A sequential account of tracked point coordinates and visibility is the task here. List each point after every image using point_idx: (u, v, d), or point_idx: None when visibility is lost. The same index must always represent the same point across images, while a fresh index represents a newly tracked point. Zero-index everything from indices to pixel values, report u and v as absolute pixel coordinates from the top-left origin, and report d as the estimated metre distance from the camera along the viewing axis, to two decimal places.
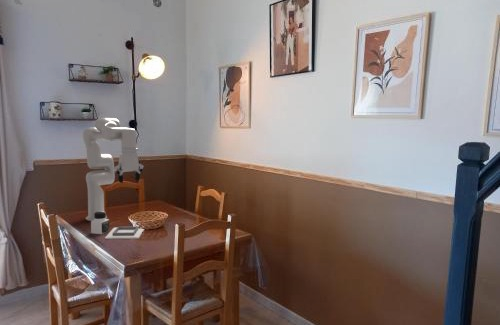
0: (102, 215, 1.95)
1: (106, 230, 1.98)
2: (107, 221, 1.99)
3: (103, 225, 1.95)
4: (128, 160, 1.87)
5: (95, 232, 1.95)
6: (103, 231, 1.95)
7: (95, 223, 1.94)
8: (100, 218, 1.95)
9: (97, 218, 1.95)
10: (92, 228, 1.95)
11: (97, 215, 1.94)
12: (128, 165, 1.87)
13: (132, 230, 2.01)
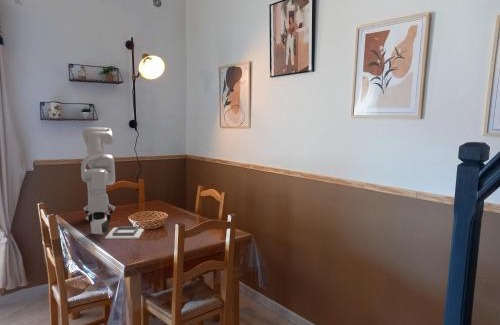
0: (101, 216, 1.94)
1: (106, 229, 1.98)
2: (106, 221, 1.98)
3: (103, 225, 1.94)
4: None
5: (95, 232, 1.95)
6: (103, 231, 1.95)
7: (95, 224, 1.93)
8: (99, 219, 1.93)
9: (96, 219, 1.93)
10: (92, 229, 1.95)
11: (96, 216, 1.93)
12: None
13: (132, 230, 2.01)
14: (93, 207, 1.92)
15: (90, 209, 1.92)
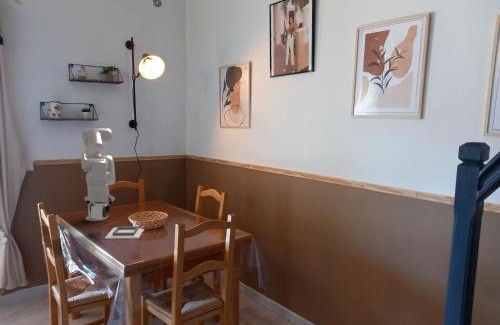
0: None
1: (106, 215, 1.99)
2: None
3: (104, 210, 1.96)
4: None
5: (95, 217, 1.95)
6: (103, 216, 1.96)
7: (95, 208, 1.95)
8: (101, 203, 1.95)
9: (98, 203, 1.95)
10: (92, 213, 1.95)
11: None
12: None
13: (132, 230, 2.01)
14: (93, 197, 1.94)
15: (90, 199, 1.94)
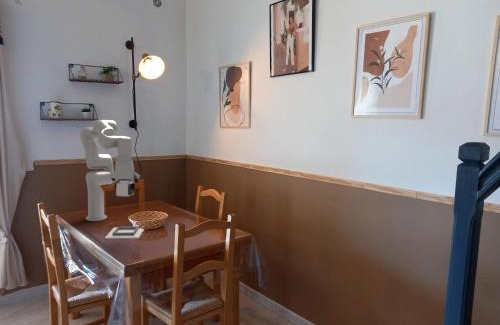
0: None
1: (131, 193, 1.95)
2: None
3: (129, 187, 1.92)
4: None
5: (121, 194, 1.91)
6: (129, 193, 1.92)
7: (121, 185, 1.91)
8: (126, 180, 1.92)
9: (123, 180, 1.91)
10: (117, 190, 1.91)
11: None
12: None
13: (132, 230, 2.01)
14: (119, 174, 1.90)
15: (116, 176, 1.90)
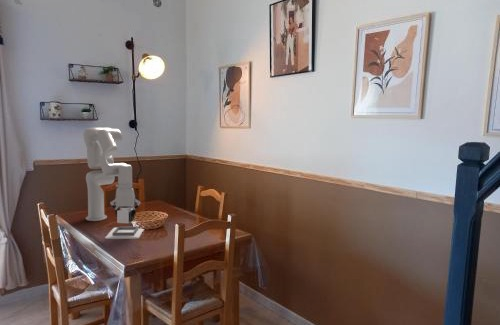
0: None
1: (132, 219, 1.97)
2: None
3: (130, 214, 1.94)
4: None
5: (121, 221, 1.93)
6: (129, 220, 1.94)
7: (122, 212, 1.93)
8: (127, 207, 1.94)
9: (124, 207, 1.93)
10: (118, 217, 1.93)
11: None
12: None
13: (132, 230, 2.01)
14: (120, 201, 1.92)
15: (117, 203, 1.92)
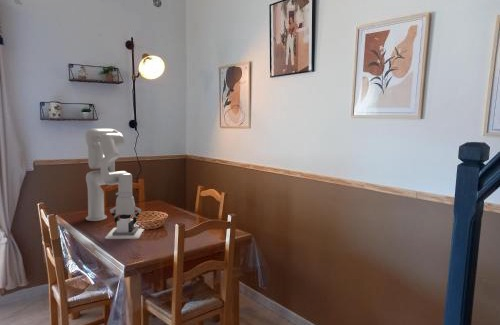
0: (128, 215, 1.94)
1: (131, 229, 1.97)
2: (132, 221, 1.98)
3: (129, 225, 1.94)
4: None
5: None
6: (129, 231, 1.95)
7: (121, 223, 1.93)
8: (126, 218, 1.94)
9: (123, 218, 1.93)
10: (118, 228, 1.94)
11: (123, 215, 1.93)
12: None
13: None
14: (120, 210, 1.93)
15: (117, 212, 1.93)
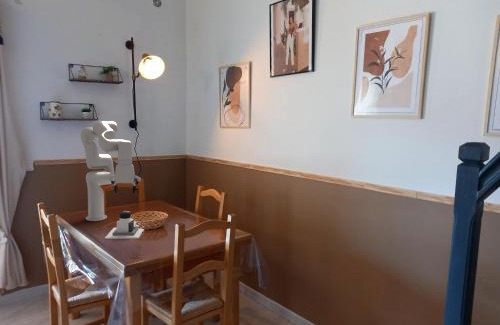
0: (128, 215, 1.94)
1: (131, 229, 1.97)
2: (132, 221, 1.98)
3: (129, 225, 1.94)
4: None
5: None
6: (129, 231, 1.95)
7: (121, 223, 1.93)
8: (126, 218, 1.94)
9: (123, 218, 1.93)
10: (118, 228, 1.94)
11: (123, 215, 1.93)
12: None
13: None
14: (119, 178, 1.91)
15: (116, 180, 1.91)
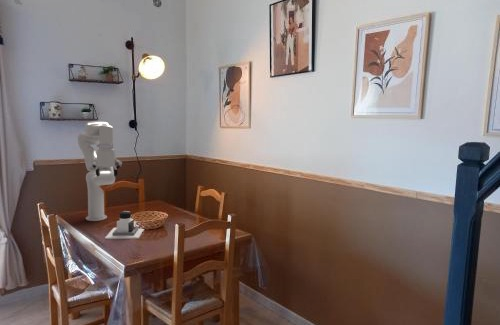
0: (128, 215, 1.94)
1: (131, 229, 1.97)
2: (132, 221, 1.98)
3: (129, 225, 1.94)
4: None
5: None
6: (129, 231, 1.95)
7: (121, 223, 1.93)
8: (126, 218, 1.94)
9: (123, 218, 1.93)
10: (118, 228, 1.94)
11: (123, 215, 1.93)
12: None
13: None
14: (101, 161, 1.95)
15: (98, 163, 1.95)
